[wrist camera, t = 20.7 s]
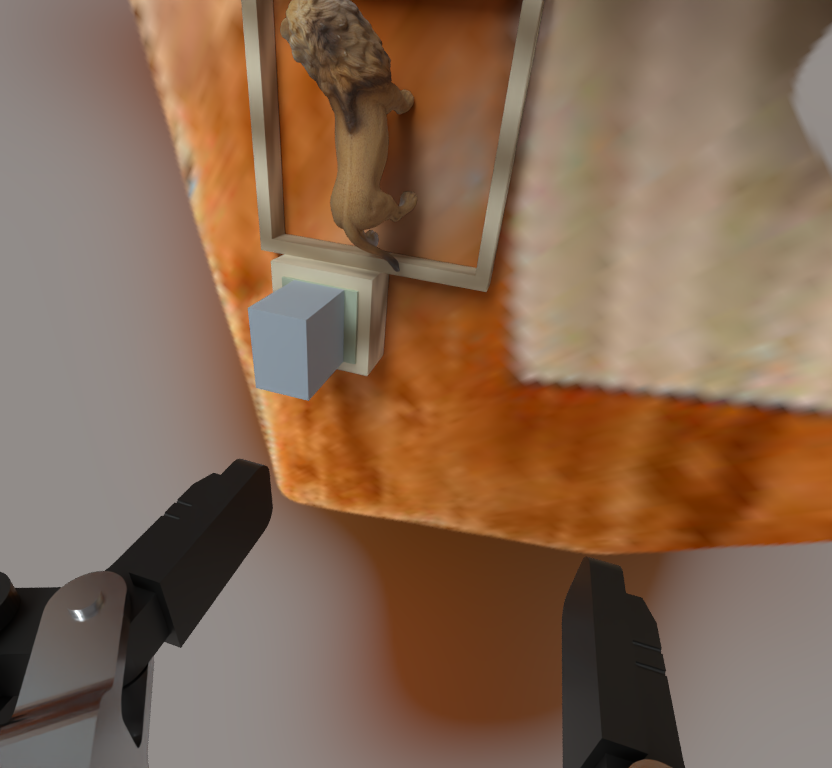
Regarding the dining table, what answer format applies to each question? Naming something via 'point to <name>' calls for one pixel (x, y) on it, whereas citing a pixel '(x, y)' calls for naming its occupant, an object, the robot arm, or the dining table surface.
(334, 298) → the fin block
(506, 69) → the dining table surface
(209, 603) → the robot arm
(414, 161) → the dining table surface
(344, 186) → the lion figurine
